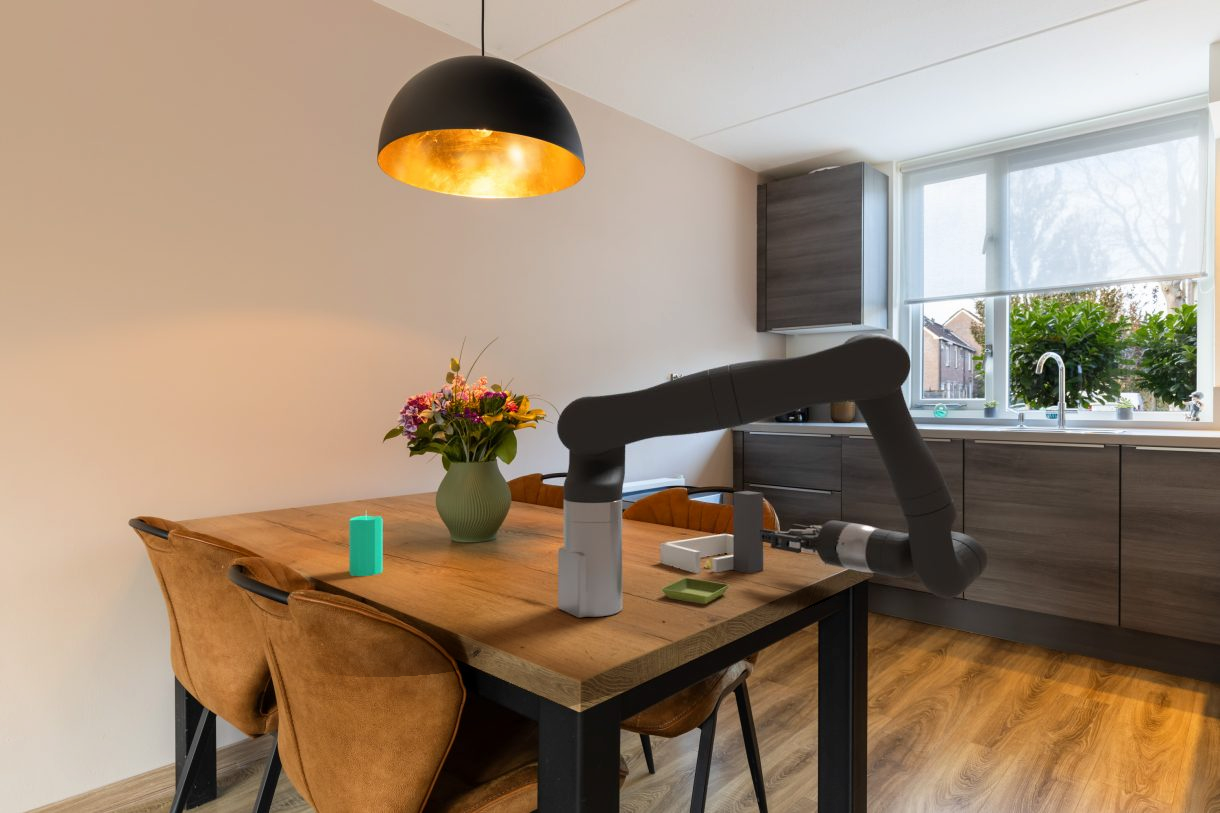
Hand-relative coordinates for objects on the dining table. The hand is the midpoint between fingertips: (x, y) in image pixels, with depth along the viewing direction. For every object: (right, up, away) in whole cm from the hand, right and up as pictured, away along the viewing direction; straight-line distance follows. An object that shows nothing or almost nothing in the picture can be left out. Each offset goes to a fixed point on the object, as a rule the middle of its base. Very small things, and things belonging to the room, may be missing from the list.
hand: (776, 532), depth 127 cm
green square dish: (-16, -9, -12) cm, 22 cm away
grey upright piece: (-4, -9, +7) cm, 12 cm away
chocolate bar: (-7, -9, +12) cm, 17 cm away
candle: (-77, -9, +5) cm, 78 cm away
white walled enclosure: (-10, -9, +14) cm, 19 cm away
